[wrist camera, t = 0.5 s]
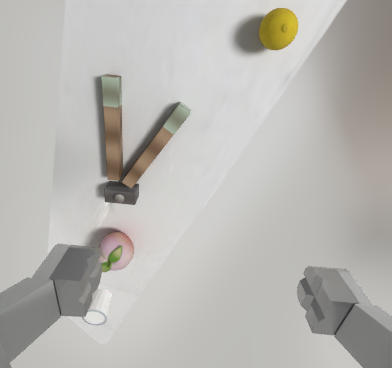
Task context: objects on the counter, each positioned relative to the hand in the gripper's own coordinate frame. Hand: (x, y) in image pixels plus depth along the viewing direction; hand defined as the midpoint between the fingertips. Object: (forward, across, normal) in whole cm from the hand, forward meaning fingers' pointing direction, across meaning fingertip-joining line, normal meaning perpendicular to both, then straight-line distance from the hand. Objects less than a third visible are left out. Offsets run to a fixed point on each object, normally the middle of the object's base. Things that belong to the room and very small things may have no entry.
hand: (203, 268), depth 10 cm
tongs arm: (+42, +7, +10) cm, 44 cm away
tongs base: (+42, +14, +11) cm, 46 cm away
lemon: (+42, -11, -12) cm, 45 cm away
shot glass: (+42, +21, +59) cm, 76 cm away
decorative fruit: (+42, +15, +36) cm, 58 cm away
